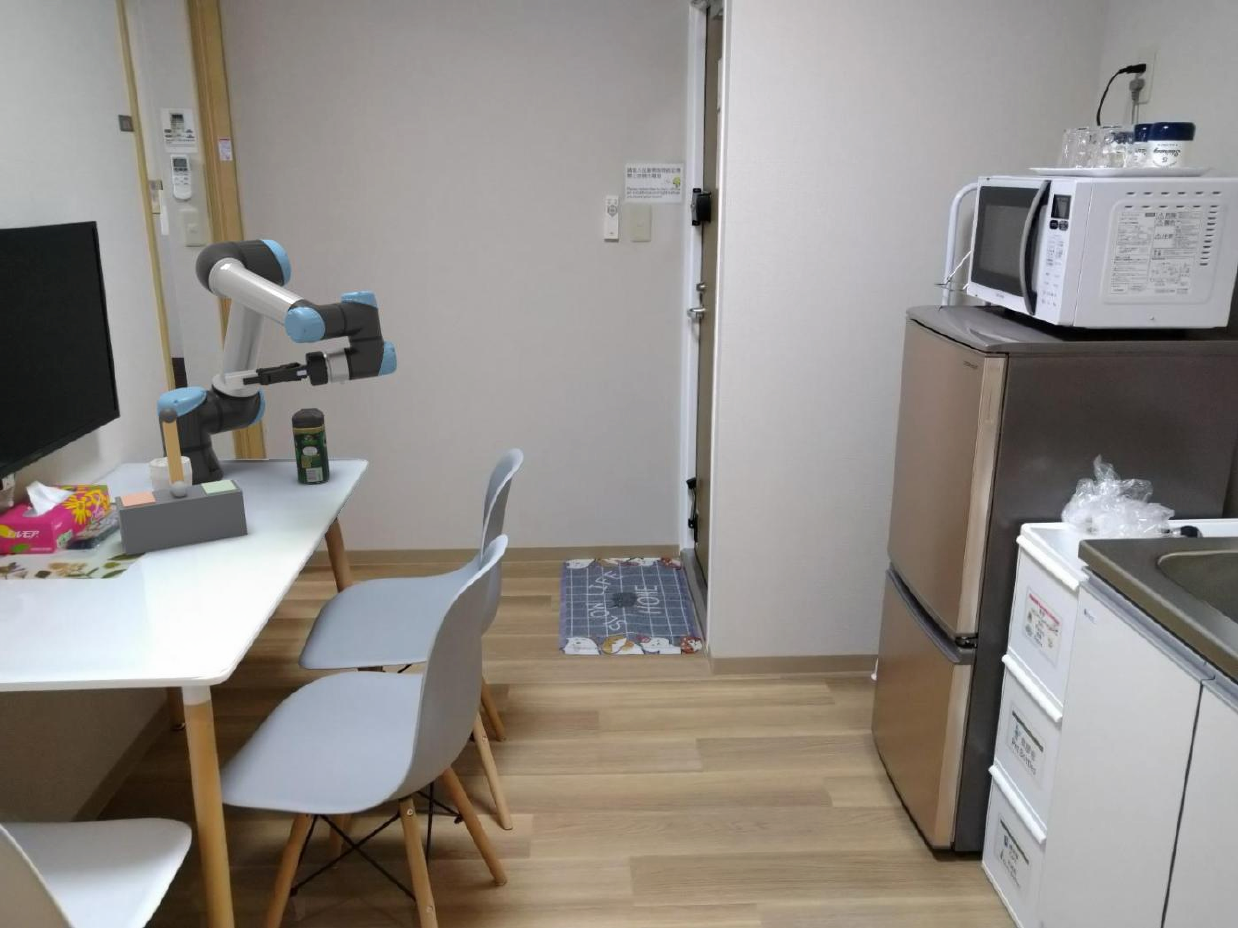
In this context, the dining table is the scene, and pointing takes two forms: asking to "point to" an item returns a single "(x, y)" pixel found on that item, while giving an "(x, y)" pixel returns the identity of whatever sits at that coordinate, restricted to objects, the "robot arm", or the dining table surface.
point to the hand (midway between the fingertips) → (225, 382)
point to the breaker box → (180, 517)
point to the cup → (167, 473)
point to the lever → (173, 451)
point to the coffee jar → (310, 445)
